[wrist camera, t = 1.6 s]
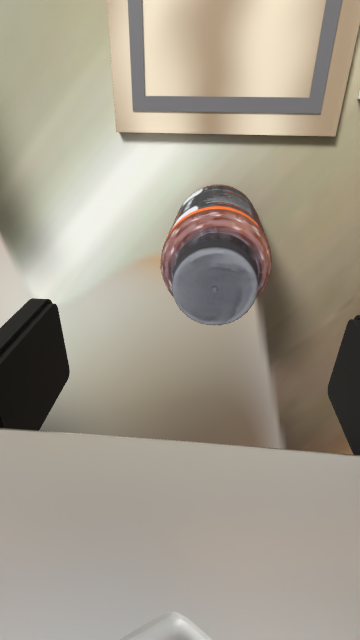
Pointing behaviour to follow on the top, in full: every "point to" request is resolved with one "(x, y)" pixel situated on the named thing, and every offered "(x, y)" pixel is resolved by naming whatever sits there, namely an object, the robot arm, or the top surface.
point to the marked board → (231, 65)
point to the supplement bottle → (216, 256)
